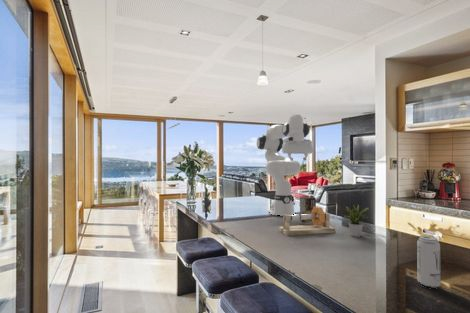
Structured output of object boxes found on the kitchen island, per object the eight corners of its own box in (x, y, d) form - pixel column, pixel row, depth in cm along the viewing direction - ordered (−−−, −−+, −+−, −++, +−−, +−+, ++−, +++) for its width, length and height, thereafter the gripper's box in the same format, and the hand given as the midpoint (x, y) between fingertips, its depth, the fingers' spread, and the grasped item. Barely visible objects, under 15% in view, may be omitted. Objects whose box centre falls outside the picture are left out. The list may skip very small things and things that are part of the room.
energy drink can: (436, 291, 86) (435, 241, 86) (414, 284, 90) (413, 237, 91) (443, 286, 89) (443, 238, 89) (422, 279, 94) (421, 234, 94)
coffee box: (314, 222, 178) (314, 196, 178) (316, 224, 172) (316, 198, 172) (299, 222, 179) (299, 196, 179) (301, 224, 173) (300, 197, 173)
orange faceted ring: (311, 223, 163) (311, 205, 163) (315, 223, 163) (315, 205, 163) (320, 227, 153) (320, 208, 153) (324, 227, 154) (324, 208, 154)
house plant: (375, 240, 139) (375, 207, 139) (345, 238, 141) (345, 206, 141) (368, 233, 153) (368, 202, 153) (341, 231, 155) (340, 201, 155)
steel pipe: (283, 220, 155) (283, 214, 155) (325, 217, 161) (325, 212, 161) (285, 221, 152) (285, 215, 152) (329, 219, 158) (329, 213, 158)
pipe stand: (278, 230, 159) (278, 213, 159) (323, 227, 166) (323, 210, 166) (287, 235, 147) (287, 217, 147) (335, 232, 154) (335, 214, 154)
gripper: (309, 140, 189) (310, 161, 187) (280, 139, 184) (281, 161, 182) (314, 138, 183) (315, 160, 181) (284, 138, 178) (285, 160, 176)
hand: (298, 160), depth 182 cm, fingers open, 8 cm apart
